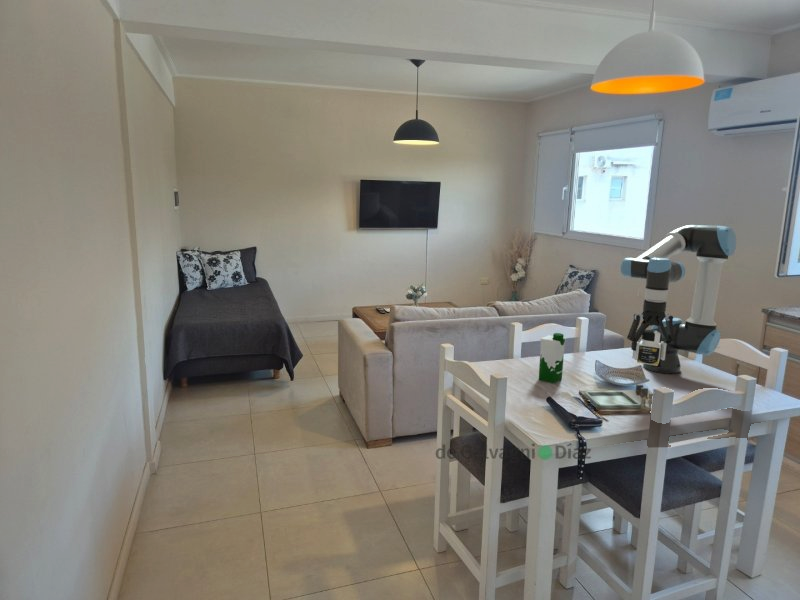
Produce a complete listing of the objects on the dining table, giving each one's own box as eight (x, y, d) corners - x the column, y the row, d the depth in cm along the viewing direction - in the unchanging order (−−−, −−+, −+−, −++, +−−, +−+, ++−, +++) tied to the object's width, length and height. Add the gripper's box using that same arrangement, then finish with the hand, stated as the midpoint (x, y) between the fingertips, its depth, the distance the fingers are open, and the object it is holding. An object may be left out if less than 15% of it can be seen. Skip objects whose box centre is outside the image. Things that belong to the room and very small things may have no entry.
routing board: (648, 393, 213) (649, 382, 212) (676, 413, 193) (678, 401, 192) (578, 393, 211) (579, 382, 210) (600, 413, 191) (601, 402, 190)
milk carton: (555, 384, 220) (559, 337, 216) (535, 379, 226) (538, 333, 222) (564, 379, 227) (568, 333, 223) (544, 374, 232) (547, 329, 228)
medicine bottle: (636, 362, 201) (640, 331, 199) (638, 358, 207) (642, 327, 205) (657, 366, 198) (661, 334, 195) (659, 361, 204) (662, 330, 202)
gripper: (679, 299, 202) (672, 356, 206) (621, 297, 201) (614, 355, 205) (690, 302, 195) (682, 362, 199) (630, 301, 194) (623, 361, 198)
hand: (648, 359), depth 202 cm, fingers closed on medicine bottle, 9 cm apart
